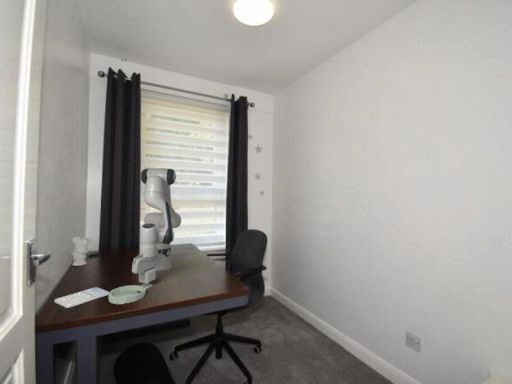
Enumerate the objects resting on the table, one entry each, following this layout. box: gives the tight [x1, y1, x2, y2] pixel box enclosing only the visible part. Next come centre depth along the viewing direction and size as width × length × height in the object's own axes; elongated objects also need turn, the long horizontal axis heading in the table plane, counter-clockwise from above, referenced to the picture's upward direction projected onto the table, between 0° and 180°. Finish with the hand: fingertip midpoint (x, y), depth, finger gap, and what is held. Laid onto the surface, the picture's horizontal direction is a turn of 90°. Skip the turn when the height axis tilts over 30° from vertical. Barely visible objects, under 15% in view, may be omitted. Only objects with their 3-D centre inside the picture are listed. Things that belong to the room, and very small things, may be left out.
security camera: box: [138, 268, 157, 290], centre depth 144 cm, size 6×7×10 cm
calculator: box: [54, 287, 110, 309], centre depth 128 cm, size 13×20×2 cm, turn 150°
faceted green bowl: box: [107, 284, 147, 305], centre depth 130 cm, size 17×17×3 cm
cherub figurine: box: [71, 234, 92, 267], centre depth 187 cm, size 12×12×22 cm
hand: (147, 276), depth 144 cm, fingers open, 6 cm apart
